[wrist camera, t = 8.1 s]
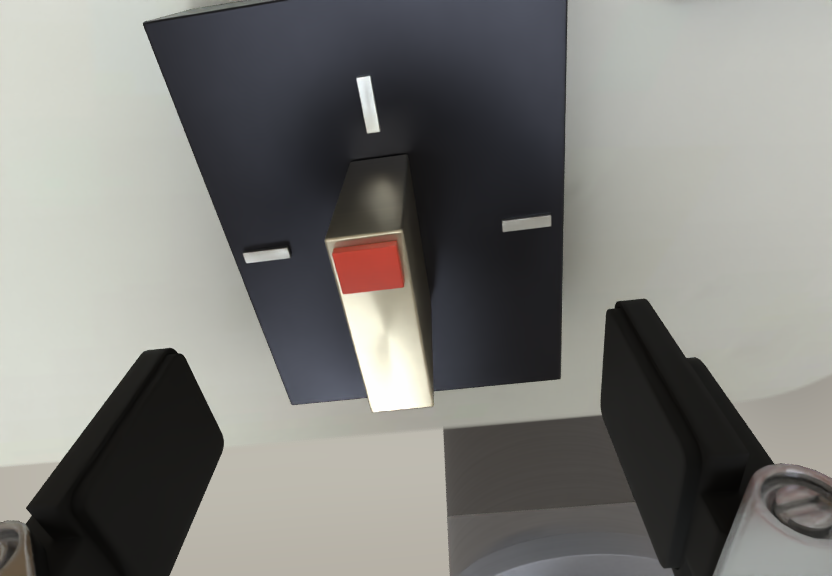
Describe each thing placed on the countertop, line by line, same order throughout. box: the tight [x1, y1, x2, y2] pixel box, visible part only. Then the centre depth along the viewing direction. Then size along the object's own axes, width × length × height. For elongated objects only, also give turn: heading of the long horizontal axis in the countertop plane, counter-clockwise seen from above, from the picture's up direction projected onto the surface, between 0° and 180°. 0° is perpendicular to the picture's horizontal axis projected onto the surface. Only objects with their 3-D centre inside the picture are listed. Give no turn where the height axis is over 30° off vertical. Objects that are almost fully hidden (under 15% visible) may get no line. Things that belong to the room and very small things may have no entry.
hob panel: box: [143, 0, 568, 405], centre depth 16 cm, size 13×10×3 cm
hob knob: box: [325, 154, 434, 412], centre depth 13 cm, size 5×2×5 cm, turn 8°
